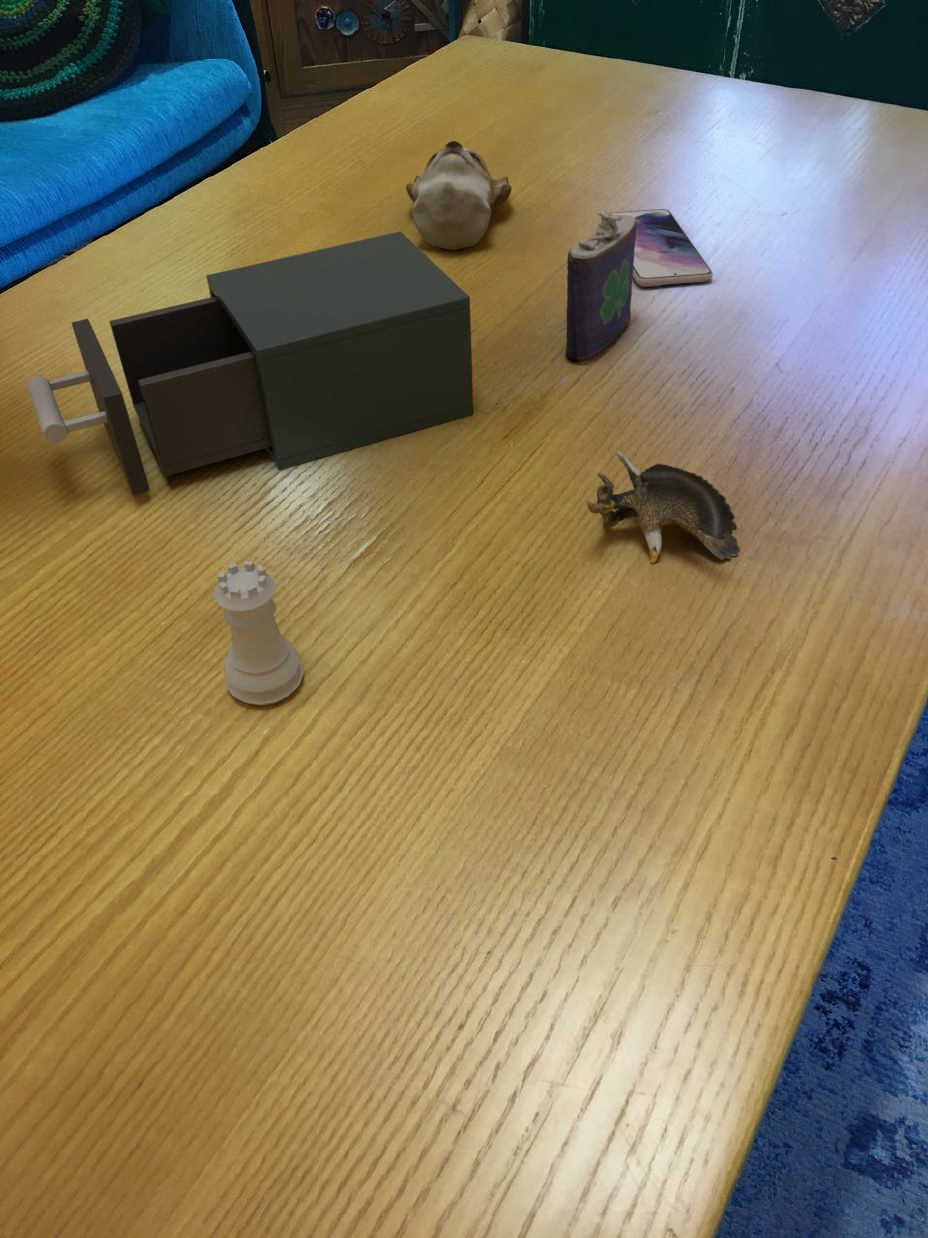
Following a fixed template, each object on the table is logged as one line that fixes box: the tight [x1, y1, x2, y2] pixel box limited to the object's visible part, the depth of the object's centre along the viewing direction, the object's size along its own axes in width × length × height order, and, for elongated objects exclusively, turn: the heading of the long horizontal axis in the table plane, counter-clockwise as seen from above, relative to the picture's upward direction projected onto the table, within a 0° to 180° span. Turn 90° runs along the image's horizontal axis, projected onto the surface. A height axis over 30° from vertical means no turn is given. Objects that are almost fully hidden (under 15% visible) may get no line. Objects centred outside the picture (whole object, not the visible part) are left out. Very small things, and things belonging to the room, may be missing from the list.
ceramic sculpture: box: [405, 140, 513, 251], centre depth 103 cm, size 11×9×15 cm
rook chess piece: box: [213, 560, 304, 706], centre depth 59 cm, size 4×4×8 cm
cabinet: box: [205, 231, 474, 471], centre depth 80 cm, size 16×13×10 cm
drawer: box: [26, 296, 272, 496], centre depth 76 cm, size 19×11×8 cm, turn 115°
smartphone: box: [600, 208, 714, 288], centre depth 100 cm, size 7×1×15 cm
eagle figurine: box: [586, 451, 741, 564], centre depth 67 cm, size 8×7×9 cm
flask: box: [565, 210, 637, 365], centre depth 85 cm, size 9×3×11 cm, turn 148°
